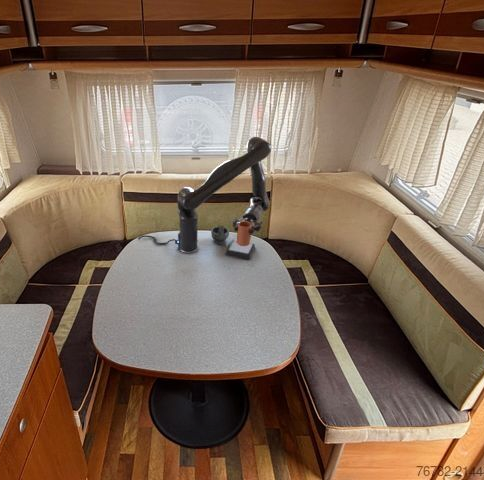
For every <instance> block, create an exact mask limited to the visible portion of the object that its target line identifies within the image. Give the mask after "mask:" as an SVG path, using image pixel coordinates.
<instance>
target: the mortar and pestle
mask: <svg viewBox="0 0 484 480" xmlns="http://www.w3.org/2000/svg"><path fill="white" fill-rule="evenodd" d="M210 234H211V237H212V239H213V243H214V244H216V245H224V244H225V243H226V240H227V239H228V238H229V236H230V229H229V228H227V227H225V226H224V225H219V226H213V227H212V228H211V229H210Z"/></svg>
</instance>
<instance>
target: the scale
mask: <svg viewBox="0 0 484 480" xmlns="http://www.w3.org/2000/svg"><path fill="white" fill-rule="evenodd" d="M255 246H256V244H255V243H251V242H250V244H249V245H248V246H240V245H238V244H237V239H236V240H235V239H232V240H231V242H230V244H229V245H228V247H227V249H226V251H225V255H226V256H228V257H229V256H230V257H235V258H238V259H239V258H240V259H244V260H248V261H249V260H250V259H251V256H252V254H253V253H254V250H255V248H256V247H255Z"/></svg>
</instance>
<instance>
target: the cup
mask: <svg viewBox="0 0 484 480" xmlns="http://www.w3.org/2000/svg"><path fill="white" fill-rule="evenodd" d="M251 228H252V224H251V223H250V222H247V221H241V222H239V223H238V227H237V232H236V241H237V244H238V245H240V246H248V245H249V244H250V243H251V236H252V234H250V229H251Z"/></svg>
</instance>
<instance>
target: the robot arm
mask: <svg viewBox="0 0 484 480" xmlns="http://www.w3.org/2000/svg"><path fill="white" fill-rule="evenodd" d="M271 152H272V145H271V143H270V142H269V141H267V140H266V139H264V138H261V137H260V136H253V137H251V138H250V139H249V140H248V141H247V144H246V153H244V154H243V155H241V156H238V157H235V158H232V159H228V160H226V161H224V162H223V163H221V164H220V165H218V166H217V167H216V168H214V169H213V170H212V172H211V173H210V174H209V176H208V178H207V179H206V180H205V182H203V184H201V185H200V186H199V187H197V188H196V189H193V188H191V187H189V186H185V187H182V188H181V189H180V190H179V191H178V194H177V213H178V217H179V218H178V219H179V232H178V233H177V237H176V238H171V239H169V240H167V241H166V242H158V241H157V238H156V237H155V236H152V235H146V234H145V235H140V236H139V237H138V238H137V239H139V240H140V239H142V238H151V239H154V243H155V244H157V245H167V244H169V243H170V242H174V244H175V245H177V250H178V251H180V252H181V253H184V254H194V253H195V252H197V251H198V243H199V239H198V233H199V232H198V229H199V228H198V226H199V225H198V224H199V223H198V221H199V220H198V219H199V215H198V212H197V208H199V207H200V206H202V204H203V203H204V202H206V201H207V200H208V199H209V198H210V197H212V195H214V194H215V193H216V192H218V191H219V190H220V189H222V188H223V187H225V186H226V185H227V184H229V183H230V182H232V181H233V180H234V179H236V178H237V177H238V176H239V175H241V174H242V173H243V172H245V171H247V170H249V168H250V173H251V192H252V194H253V195H254V197H251V198H250V199H249V207H248V208H247V210H246V211H245V212H244V214H243V216H242V217H241V218H238V217H237V216H235V217H234V219H233V222H232V227H233V230H234V232H236V233H237V227H238V223H239V222H241V221H247V222H250V223H251V224H252V228H251V229H250V234H251V235H252V234H254V233H255V231H256V232H259V231H260V230H261V229H262V228H263V221H260V218H261V215H262V213H263V212H266V211H268V210H269V208H270V200H269V197H268V194H267V181H266V175H265V172H264V169H263V165H262V161H264V160H265V159H266V158H267V157H268V156H269V155H270V154H271ZM259 221H260V222H259Z"/></svg>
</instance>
